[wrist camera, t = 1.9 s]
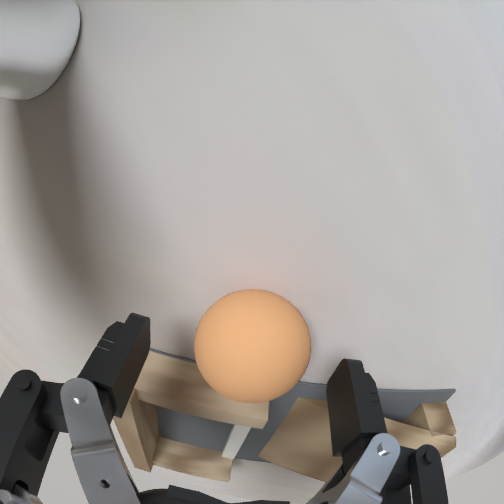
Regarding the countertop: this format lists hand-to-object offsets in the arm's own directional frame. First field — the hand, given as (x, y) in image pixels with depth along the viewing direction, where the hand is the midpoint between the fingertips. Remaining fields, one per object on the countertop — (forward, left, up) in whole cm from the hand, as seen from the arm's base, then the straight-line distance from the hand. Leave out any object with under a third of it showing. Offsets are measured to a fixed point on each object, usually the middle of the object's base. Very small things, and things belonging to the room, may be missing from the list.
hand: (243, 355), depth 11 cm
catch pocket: (+2, +13, -3) cm, 13 cm away
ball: (0, 0, -1) cm, 1 cm away
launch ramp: (-11, +13, -3) cm, 17 cm away
